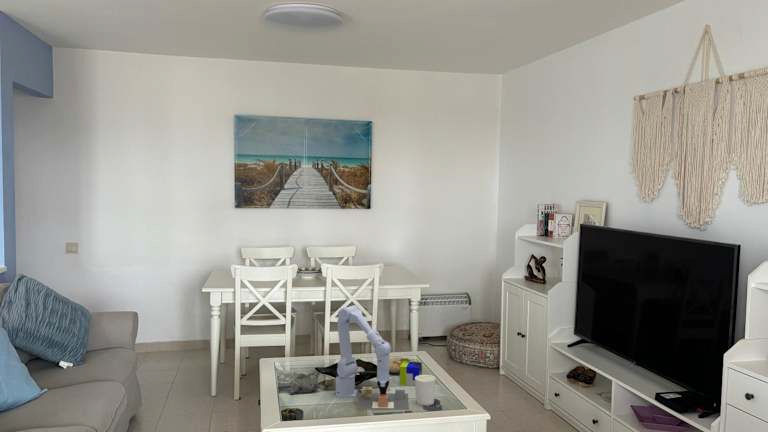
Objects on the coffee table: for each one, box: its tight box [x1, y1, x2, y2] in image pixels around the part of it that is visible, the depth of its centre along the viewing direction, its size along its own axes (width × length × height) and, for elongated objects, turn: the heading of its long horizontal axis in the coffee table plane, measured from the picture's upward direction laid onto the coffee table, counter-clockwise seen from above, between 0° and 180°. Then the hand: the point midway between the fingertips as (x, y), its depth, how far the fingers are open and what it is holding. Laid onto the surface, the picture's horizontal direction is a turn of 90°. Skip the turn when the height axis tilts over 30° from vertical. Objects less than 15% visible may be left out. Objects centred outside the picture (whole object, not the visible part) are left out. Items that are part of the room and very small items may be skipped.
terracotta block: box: [378, 394, 388, 407], centre depth 271 cm, size 4×4×4 cm
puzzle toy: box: [399, 361, 423, 387], centre depth 305 cm, size 10×10×10 cm
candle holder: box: [415, 374, 437, 406], centre depth 276 cm, size 10×10×12 cm
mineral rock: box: [290, 372, 320, 395], centre depth 290 cm, size 13×11×10 cm
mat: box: [356, 392, 410, 411], centre depth 277 cm, size 24×22×1 cm
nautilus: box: [389, 356, 414, 374], centre depth 323 cm, size 8×22×15 cm
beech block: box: [361, 386, 373, 399], centre depth 282 cm, size 4×4×4 cm
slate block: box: [394, 386, 406, 399], centre depth 282 cm, size 4×4×4 cm
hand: (383, 396), depth 275 cm, fingers closed
